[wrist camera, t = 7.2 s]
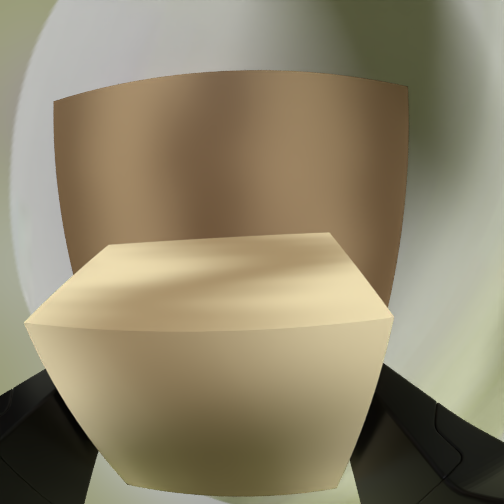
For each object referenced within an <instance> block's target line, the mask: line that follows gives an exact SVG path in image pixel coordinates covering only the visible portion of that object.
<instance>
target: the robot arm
mask: <svg viewBox="0 0 504 504" xmlns="http://www.w3.org/2000/svg"><path fill="white" fill-rule="evenodd" d="M98 451H99V450H98V449H97V448H96V447H95V445H94V444H93V443H92V441H91V440H90V439H89V437H88V436H87V434H86V433H85V432H84V430H83V429H82V427H81V426H80V425H79V423H78V422H77V420H76V419H75V417H74V416H73V414H72V413H71V411H70V409H69V408H68V406H67V405H66V403H65V402H64V400H63V398H62V397H61V395H60V393H59V392H58V390H57V388H56V386H55V385H54V383H53V381H52V379H51V378H50V376H49V374H48V372H47V370H46V369H44V370H43V371H41V372H39V373H38V374H36V375H34V376H32V377H31V378H29V379H27V380H26V381H24V382H22V383H21V384H19V385H18V386H16V387H14V388H13V389H11V390H9V391H7V392H6V393H4V394H2V395H1V396H0V504H84V503H85V499H86V495H87V491H88V487H89V483H90V479H91V475H92V472H93V468H94V465H95V461H96V457H97V454H98ZM350 463H351V467H352V471H353V474H354V478H355V482H356V486H357V490H358V494H359V498H360V502H361V504H504V442H502V441H501V440H499V439H497V438H495V437H493V436H491V435H489V434H488V433H486V432H484V431H482V430H480V429H478V428H477V427H475V426H473V425H472V424H470V423H468V422H466V421H465V420H463V419H462V418H460V417H459V416H457V415H456V414H454V413H453V412H451V411H450V410H448V409H447V408H445V407H444V406H442V405H441V404H440V403H436V401H435V400H434V399H433V398H431V397H430V396H428V395H427V394H426V393H424V392H423V391H421V390H420V389H419V388H417V387H416V386H414V385H413V384H412V383H410V382H409V381H408V380H406V379H405V378H403V377H402V376H401V375H399V374H398V373H396V372H395V371H394V370H392V369H391V368H390V367H388V366H387V365H385V364H384V363H383V365H382V368H381V372H380V375H379V379H378V382H377V385H376V388H375V392H374V395H373V398H372V401H371V404H370V407H369V410H368V413H367V416H366V419H365V421H364V424H363V427H362V430H361V432H360V435H359V437H358V440H357V443H356V445H355V448H354V450H353V452H352V455H351V457H350Z"/></svg>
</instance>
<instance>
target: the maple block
mask: <svg viewBox="0 0 504 504" xmlns="http://www.w3.org/2000/svg"><path fill="white" fill-rule="evenodd" d="M393 320H394V316H393V315H392V314H391V312H390V311H389V309H388V308H387V307H386V305H385V304H384V302H383V301H382V300H381V298H380V297H379V296H378V294H377V293H376V292H375V290H374V289H373V288H372V286H371V285H370V284H369V282H368V281H367V280H366V278H365V277H364V276H363V274H362V273H361V272H360V270H359V269H358V268H357V267H356V265H355V264H354V263H353V261H352V260H351V259H350V258H349V256H348V255H347V254H346V253H345V251H344V250H343V249H342V247H341V246H340V245H339V244H338V242H337V241H336V240H335V239H334V238H333V236H332V235H331V234H330V233H329V232H328V233H305V234H283V235H263V236H243V237H225V238H207V239H190V240H174V241H158V242H143V243H128V244H113V245H108V246H107V247H105V248H104V249H103V250H102V251H101V252H99V253H98V254H97V255H96V256H95V257H94V258H92V259H91V260H90V261H89V262H88V263H87V264H85V265H84V266H83V267H82V268H81V269H80V270H79V271H78V272H76V273H75V274H74V275H73V276H72V277H71V278H70V279H69V280H68V281H66V282H65V283H64V284H63V285H62V286H61V287H60V288H59V289H58V290H57V291H56V292H55V293H53V294H52V295H51V296H50V297H49V298H48V299H47V300H46V301H45V302H44V303H43V304H42V305H41V306H40V307H39V308H38V309H37V310H36V311H35V312H34V313H33V314H32V315H31V316H30V317H29V318H28V319H27V320H26V321H25V322H24V324H25V327H26V329H27V331H28V333H29V335H30V338H31V340H32V342H33V344H34V346H35V349H36V351H37V353H38V355H39V357H40V359H41V361H42V362H43V365H44V366H45V368H46V370H47V372H48V374H49V376H50V378H51V379H52V381H53V383H54V385H55V386H56V388H57V390H58V392H59V393H60V395H61V397H62V398H63V400H64V402H65V403H66V405H67V406H68V408H69V409H70V411H71V413H72V414H73V416H74V417H75V419H76V420H77V422H78V423H79V425H80V426H81V427H82V429H83V430H84V432H85V433H86V434H87V436H88V437H89V439H90V440H91V441H92V443H93V444H94V445H95V447H96V448H97V449H98V450H99V452H100V453H101V454H102V455H103V457H104V458H105V459H106V461H107V462H108V463H109V464H110V465H111V466H112V468H113V469H114V470H115V471H116V472H117V474H118V475H120V477H121V478H122V479H123V480H124V481H125V483H126V484H127V485H132V486H137V487H142V488H148V489H154V490H160V491H167V492H175V493H184V494H195V495H208V496H274V495H288V494H298V493H307V492H315V491H322V490H329V489H335V488H337V486H338V484H339V482H340V480H341V478H342V475H343V473H344V471H345V469H346V467H347V464H348V462H349V460H350V457H351V455H352V452H353V450H354V448H355V445H356V443H357V440H358V437H359V435H360V432H361V430H362V427H363V424H364V421H365V419H366V416H367V413H368V410H369V407H370V404H371V401H372V398H373V395H374V392H375V388H376V385H377V382H378V379H379V375H380V372H381V368H382V365H383V361H384V357H385V353H386V349H387V345H388V341H389V337H390V333H391V329H392V324H393Z"/></svg>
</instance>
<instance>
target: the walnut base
mask: <svg viewBox="0 0 504 504" xmlns="http://www.w3.org/2000/svg"><path fill="white" fill-rule="evenodd" d="M408 142H409V103H408V87H407V86H403V85H398V84H393V83H388V82H383V81H377V80H371V79H365V78H359V77H351V76H344V75H335V74H325V73H314V72H299V71H274V70H243V71H218V72H203V73H191V74H182V75H173V76H165V77H158V78H151V79H145V80H139V81H134V82H128V83H123V84H118V85H113V86H109V87H104V88H100V89H96V90H92V91H88V92H84V93H80V94H77V95H73V96H70V97H66V98H63V99H60V100H56V101H54V148H55V163H56V175H57V185H58V193H59V201H60V208H61V215H62V221H63V227H64V233H65V238H66V243H67V248H68V253H69V258H70V262H71V267H72V271H73V275H74V274H75V273H76V272H78V271H79V270H80V269H81V268H82V267H83V266H84V265H85V264H87V263H88V262H89V261H90V260H91V259H92V258H94V257H95V256H96V255H97V254H98V253H99V252H101V251H102V250H103V249H104V248H105V247H107V246H108V245H113V244H128V243H143V242H158V241H174V240H190V239H207V238H225V237H243V236H263V235H283V234H305V233H328V232H329V233H330V234H331V235H332V236H333V238H334V239H335V240H336V241H337V242H338V244H339V245H340V246H341V247H342V249H343V250H344V251H345V253H346V254H347V255H348V256H349V258H350V259H351V260H352V261H353V263H354V264H355V265H356V267H357V268H358V269H359V270H360V272H361V273H362V274H363V276H364V277H365V278H366V280H367V281H368V282H369V284H370V285H371V286H372V288H373V289H374V290H375V292H376V293H377V294H378V296H379V297H380V298H381V300H382V301H383V302H384V304H385V305H386V307H387V308H388V304H389V300H390V295H391V290H392V285H393V280H394V275H395V269H396V263H397V257H398V251H399V245H400V238H401V231H402V223H403V214H404V205H405V194H406V182H407V167H408Z"/></svg>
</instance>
